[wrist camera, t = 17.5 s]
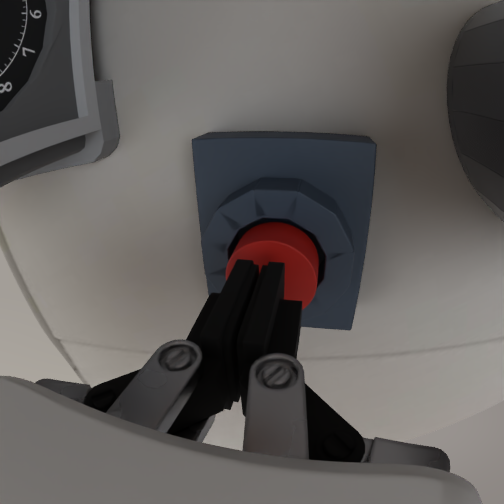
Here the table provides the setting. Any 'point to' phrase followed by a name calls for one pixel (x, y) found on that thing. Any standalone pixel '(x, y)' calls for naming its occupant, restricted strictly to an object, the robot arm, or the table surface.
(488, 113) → the grey open cylinder
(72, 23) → the alarm clock
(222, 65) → the table surface
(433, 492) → the robot arm
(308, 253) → the button
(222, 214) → the housing
